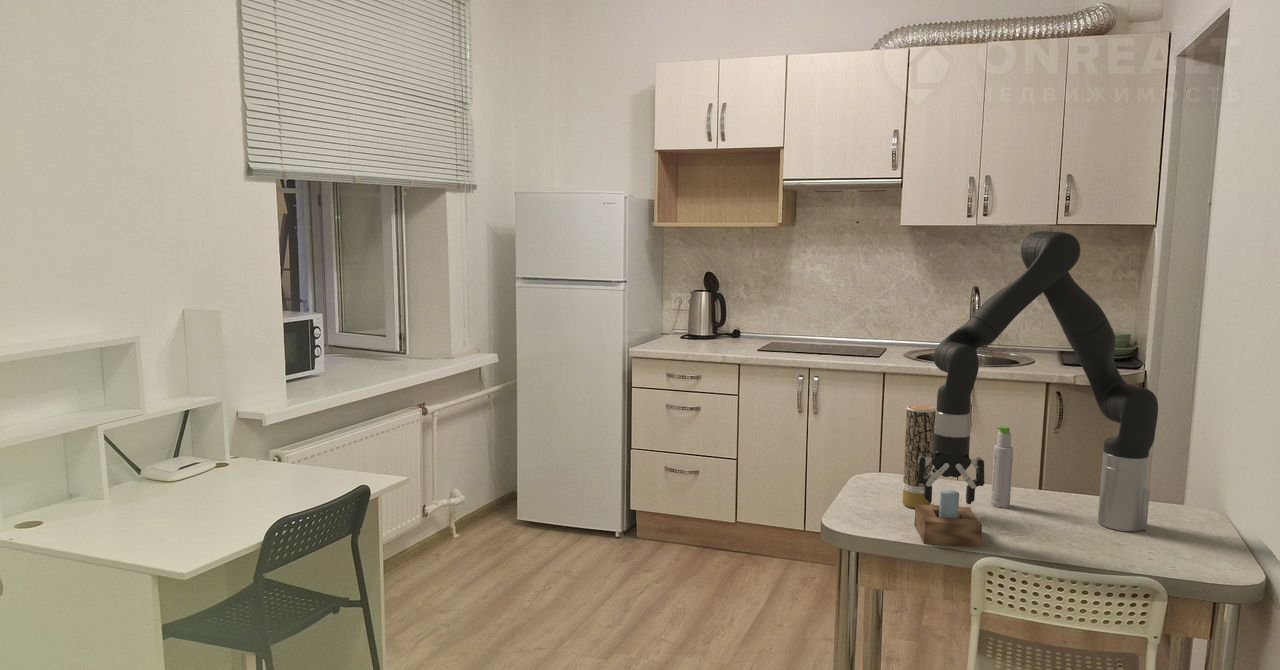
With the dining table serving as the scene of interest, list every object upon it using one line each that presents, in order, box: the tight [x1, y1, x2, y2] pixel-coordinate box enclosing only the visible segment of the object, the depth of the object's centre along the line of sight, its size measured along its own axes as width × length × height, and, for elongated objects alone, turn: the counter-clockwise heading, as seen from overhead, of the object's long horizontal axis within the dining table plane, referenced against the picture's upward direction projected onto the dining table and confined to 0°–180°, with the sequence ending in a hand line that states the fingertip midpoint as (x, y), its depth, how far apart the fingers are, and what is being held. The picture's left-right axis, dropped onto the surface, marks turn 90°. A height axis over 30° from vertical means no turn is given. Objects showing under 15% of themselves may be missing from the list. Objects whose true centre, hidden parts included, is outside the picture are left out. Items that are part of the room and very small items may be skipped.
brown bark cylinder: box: [902, 404, 937, 509], centre depth 213 cm, size 7×7×25 cm
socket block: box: [913, 504, 983, 548], centre depth 193 cm, size 12×12×5 cm
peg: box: [939, 489, 960, 519], centre depth 193 cm, size 4×4×10 cm
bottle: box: [990, 425, 1014, 509], centre depth 214 cm, size 4×4×20 cm
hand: (948, 502), depth 193 cm, fingers open, 8 cm apart
